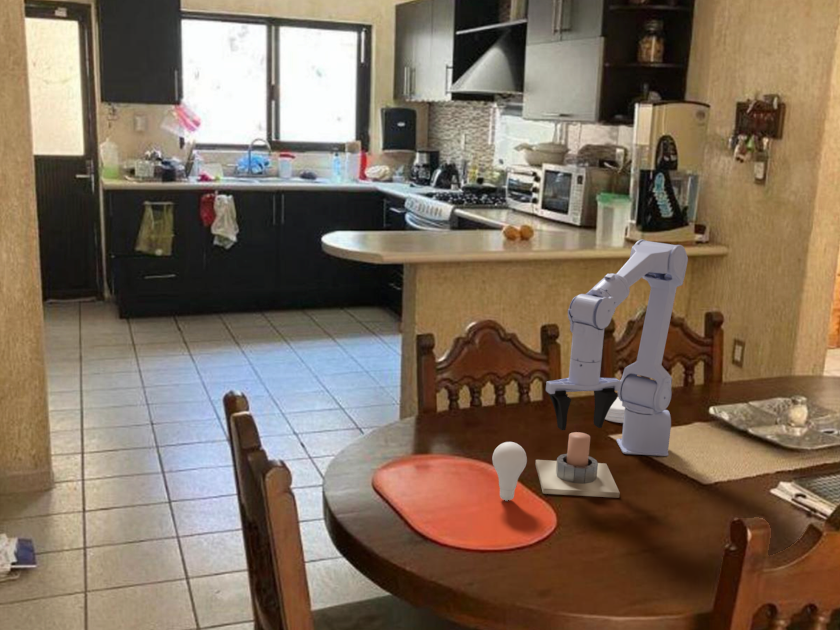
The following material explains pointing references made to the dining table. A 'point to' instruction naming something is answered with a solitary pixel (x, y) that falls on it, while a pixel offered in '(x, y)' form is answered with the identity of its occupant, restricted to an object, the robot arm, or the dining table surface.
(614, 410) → the coaster
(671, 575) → the dining table surface
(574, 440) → the peg
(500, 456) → the lightbulb
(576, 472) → the socket board
